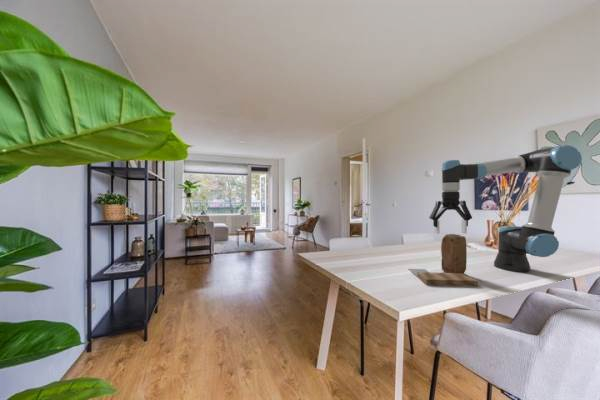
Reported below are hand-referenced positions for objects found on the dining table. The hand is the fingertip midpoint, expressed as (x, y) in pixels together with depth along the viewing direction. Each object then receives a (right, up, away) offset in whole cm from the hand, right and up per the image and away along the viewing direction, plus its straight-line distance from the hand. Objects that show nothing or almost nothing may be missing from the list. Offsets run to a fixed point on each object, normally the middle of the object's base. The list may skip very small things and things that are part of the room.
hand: (450, 233), depth 124 cm
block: (+1, -21, +1) cm, 21 cm away
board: (-8, -21, -10) cm, 25 cm away
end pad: (-14, -21, +2) cm, 25 cm away
